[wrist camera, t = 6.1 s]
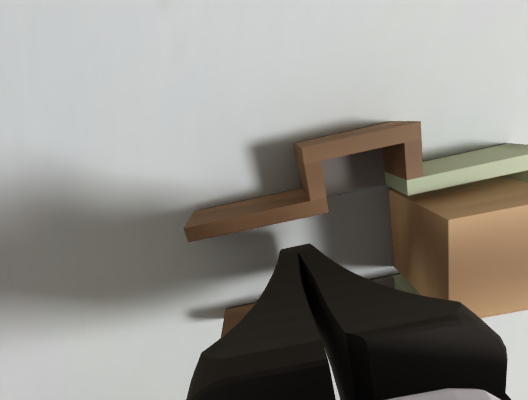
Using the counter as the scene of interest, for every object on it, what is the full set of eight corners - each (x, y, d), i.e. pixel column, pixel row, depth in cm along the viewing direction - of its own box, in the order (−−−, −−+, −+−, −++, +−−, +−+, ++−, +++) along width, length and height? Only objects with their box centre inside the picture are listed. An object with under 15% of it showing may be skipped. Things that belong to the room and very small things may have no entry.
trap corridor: (501, 297, 14) (540, 325, 12) (237, 349, 14) (235, 384, 12) (510, 94, 11) (564, 89, 9) (182, 168, 12) (167, 177, 10)
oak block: (474, 250, 13) (563, 303, 9) (393, 265, 13) (448, 323, 9) (476, 171, 12) (579, 194, 8) (387, 188, 12) (448, 219, 8)
